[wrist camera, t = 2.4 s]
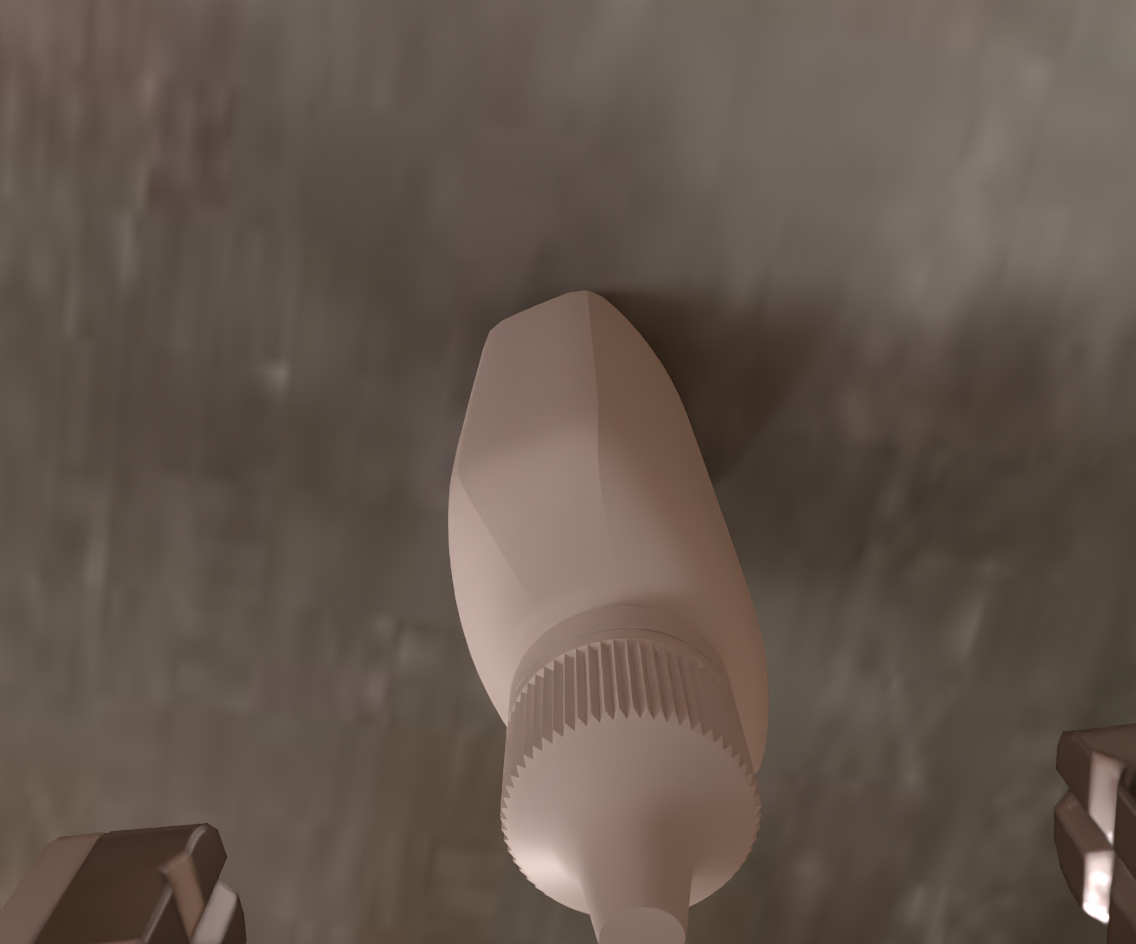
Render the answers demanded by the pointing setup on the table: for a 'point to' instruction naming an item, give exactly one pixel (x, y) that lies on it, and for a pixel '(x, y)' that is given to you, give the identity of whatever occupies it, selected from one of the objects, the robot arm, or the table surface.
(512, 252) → the table surface
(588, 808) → the eye dropper bottle
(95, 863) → the robot arm
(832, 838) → the table surface
